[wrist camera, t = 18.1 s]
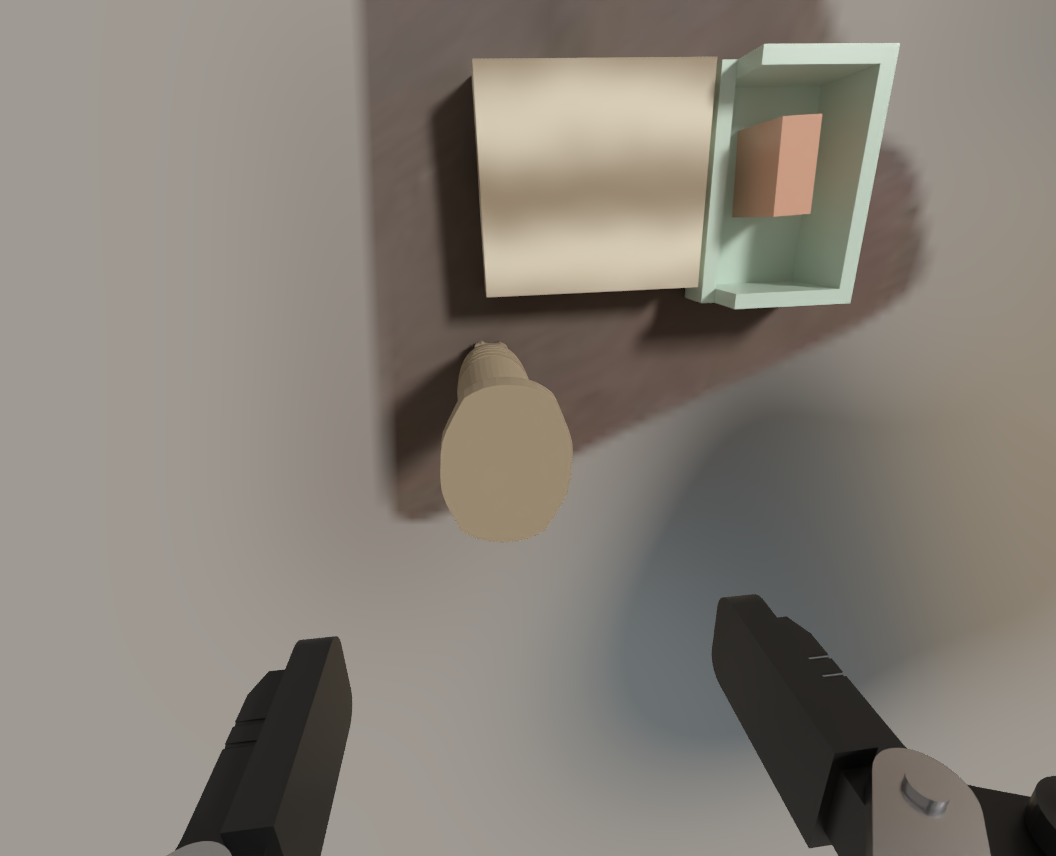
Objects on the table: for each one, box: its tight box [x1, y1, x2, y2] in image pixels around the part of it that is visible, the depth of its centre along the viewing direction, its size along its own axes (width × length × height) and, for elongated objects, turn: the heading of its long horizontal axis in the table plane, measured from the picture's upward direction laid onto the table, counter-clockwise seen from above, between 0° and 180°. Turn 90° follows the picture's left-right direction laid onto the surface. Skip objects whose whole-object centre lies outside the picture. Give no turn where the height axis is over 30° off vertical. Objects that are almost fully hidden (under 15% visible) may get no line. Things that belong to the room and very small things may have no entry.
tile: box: [732, 113, 823, 217], centre depth 28 cm, size 4×4×2 cm
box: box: [685, 43, 900, 309], centre depth 29 cm, size 12×8×5 cm, turn 2°
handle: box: [441, 341, 572, 542], centre depth 26 cm, size 5×6×15 cm
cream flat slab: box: [472, 57, 717, 297], centre depth 29 cm, size 11×12×3 cm
